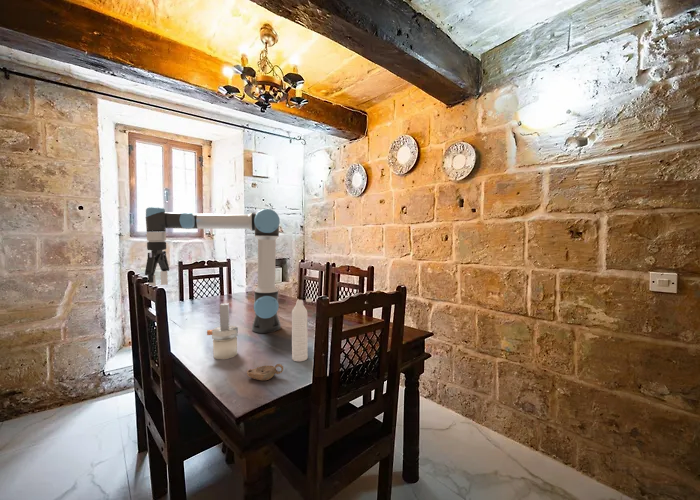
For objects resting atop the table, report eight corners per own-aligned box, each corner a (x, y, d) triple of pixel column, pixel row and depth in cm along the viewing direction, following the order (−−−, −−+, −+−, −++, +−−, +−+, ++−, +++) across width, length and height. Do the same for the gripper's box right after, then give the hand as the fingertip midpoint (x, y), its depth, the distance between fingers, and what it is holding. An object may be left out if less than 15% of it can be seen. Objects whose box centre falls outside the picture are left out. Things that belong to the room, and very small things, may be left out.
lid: (238, 331, 139) (238, 300, 139) (236, 339, 129) (235, 306, 129) (209, 333, 136) (209, 302, 135) (205, 341, 126) (204, 308, 125)
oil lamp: (244, 382, 109) (243, 369, 109) (250, 373, 117) (250, 360, 116) (281, 382, 109) (280, 369, 109) (285, 373, 117) (285, 360, 116)
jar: (238, 349, 139) (237, 332, 139) (236, 358, 130) (235, 339, 130) (215, 351, 137) (215, 334, 136) (211, 360, 128) (211, 341, 127)
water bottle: (294, 363, 125) (294, 302, 124) (290, 357, 131) (289, 299, 130) (314, 359, 129) (314, 300, 128) (309, 353, 135) (309, 297, 134)
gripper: (158, 240, 153) (160, 283, 154) (134, 242, 128) (136, 292, 129) (175, 240, 154) (177, 282, 155) (153, 242, 130) (156, 291, 131)
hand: (158, 287), depth 142 cm, fingers open, 13 cm apart
